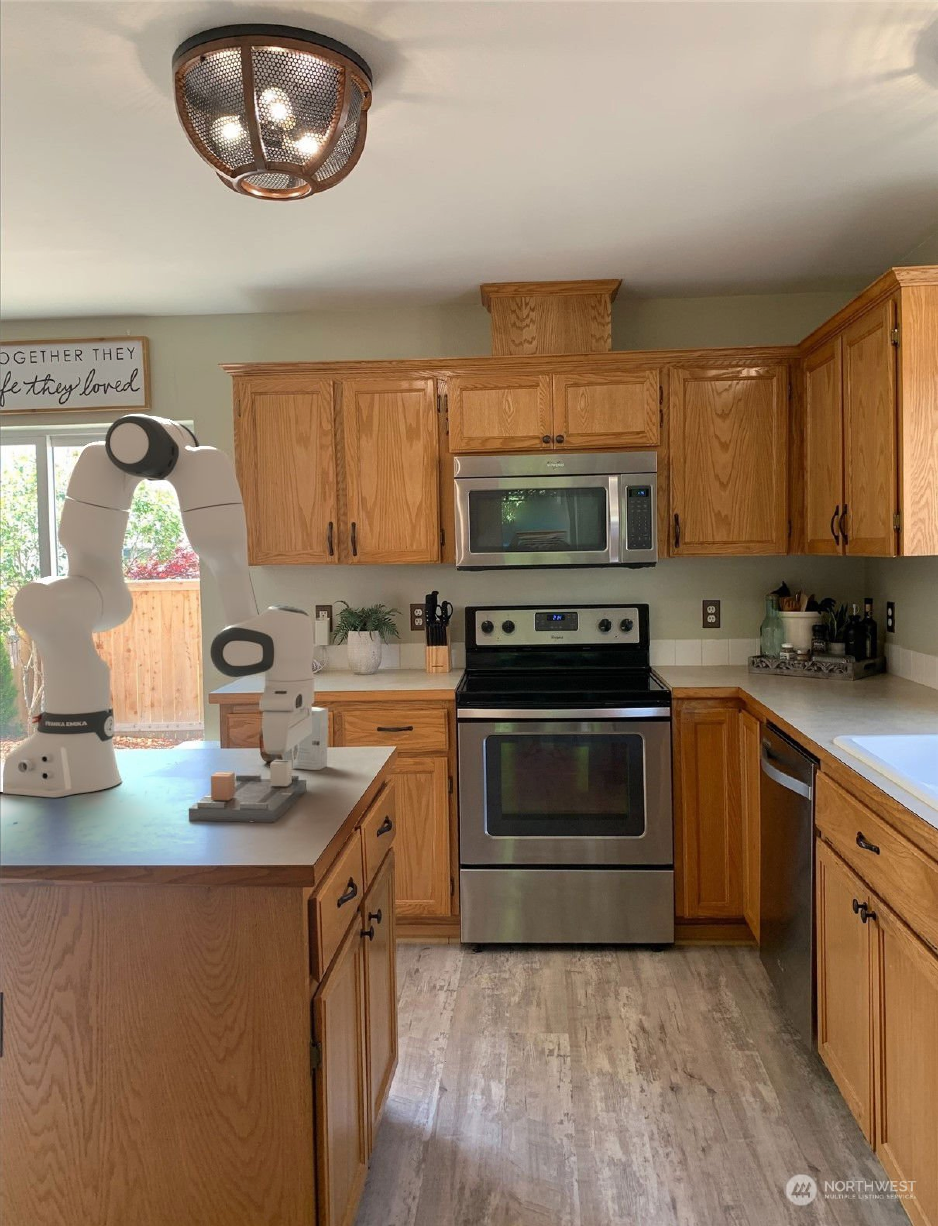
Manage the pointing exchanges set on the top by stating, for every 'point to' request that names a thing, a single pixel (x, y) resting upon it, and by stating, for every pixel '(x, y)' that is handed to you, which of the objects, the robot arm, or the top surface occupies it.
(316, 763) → the skincare box
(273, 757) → the tin
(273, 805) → the panel
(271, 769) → the fader
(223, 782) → the fader
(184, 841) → the top surface
